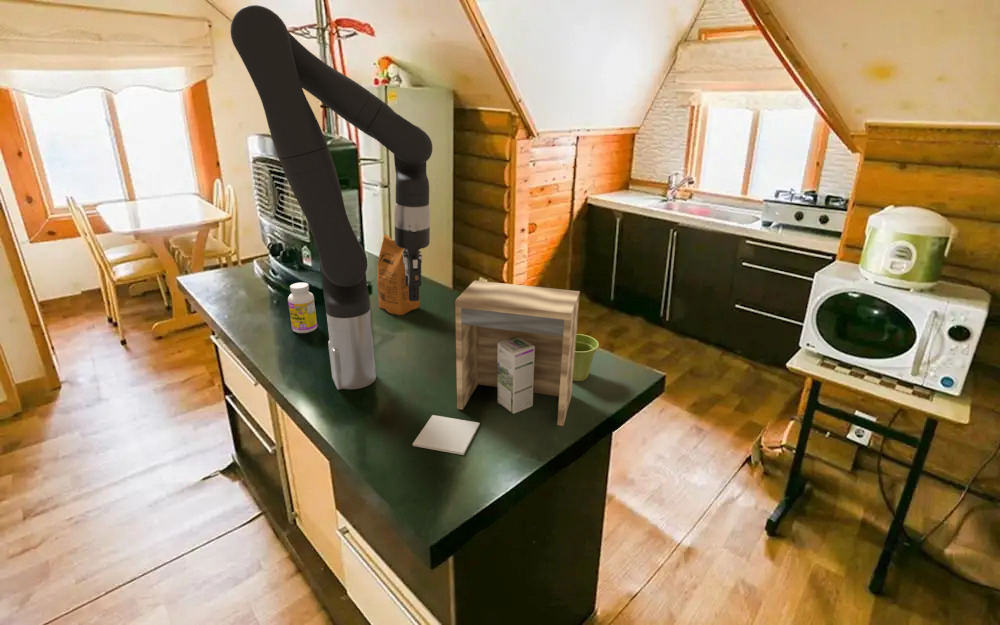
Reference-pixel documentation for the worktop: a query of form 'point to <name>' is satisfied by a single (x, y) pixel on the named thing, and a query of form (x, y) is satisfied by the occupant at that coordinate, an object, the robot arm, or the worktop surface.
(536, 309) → the hutch
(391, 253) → the coffee package
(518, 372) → the syrup box
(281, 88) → the robot arm
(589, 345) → the plant pot
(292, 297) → the supplement bottle
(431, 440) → the mat
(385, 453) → the worktop surface
